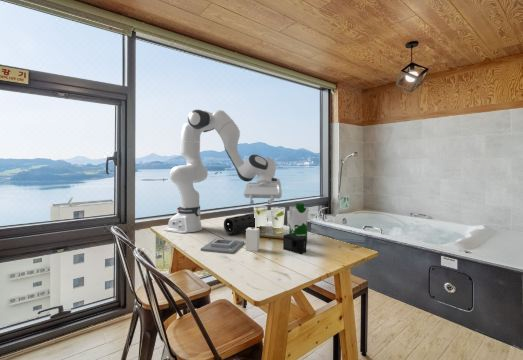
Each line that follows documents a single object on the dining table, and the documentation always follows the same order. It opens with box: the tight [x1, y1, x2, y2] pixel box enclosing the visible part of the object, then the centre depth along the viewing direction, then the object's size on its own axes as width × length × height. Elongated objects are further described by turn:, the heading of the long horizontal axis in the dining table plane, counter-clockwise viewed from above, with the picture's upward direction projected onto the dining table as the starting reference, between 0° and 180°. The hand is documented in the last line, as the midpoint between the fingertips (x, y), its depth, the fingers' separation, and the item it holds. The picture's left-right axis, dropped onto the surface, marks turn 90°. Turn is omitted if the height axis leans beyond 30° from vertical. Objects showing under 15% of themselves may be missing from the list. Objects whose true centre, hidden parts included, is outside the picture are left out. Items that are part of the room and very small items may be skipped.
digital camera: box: [282, 233, 308, 255], centre depth 129 cm, size 10×5×7 cm, turn 49°
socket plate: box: [200, 238, 245, 255], centre depth 134 cm, size 16×16×2 cm
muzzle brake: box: [223, 212, 269, 236], centre depth 164 cm, size 10×28×10 cm, turn 136°
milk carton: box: [288, 202, 309, 244], centre depth 143 cm, size 9×9×20 cm
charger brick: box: [245, 227, 260, 252], centre depth 130 cm, size 6×4×10 cm
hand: (260, 203), depth 141 cm, fingers open, 8 cm apart
